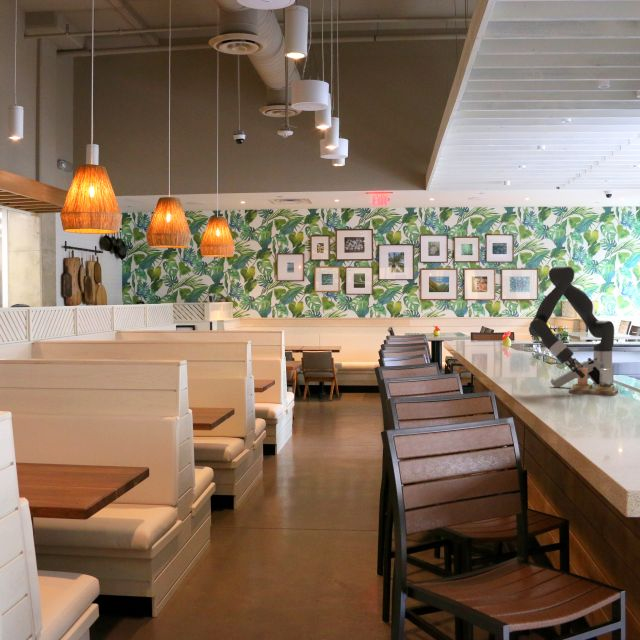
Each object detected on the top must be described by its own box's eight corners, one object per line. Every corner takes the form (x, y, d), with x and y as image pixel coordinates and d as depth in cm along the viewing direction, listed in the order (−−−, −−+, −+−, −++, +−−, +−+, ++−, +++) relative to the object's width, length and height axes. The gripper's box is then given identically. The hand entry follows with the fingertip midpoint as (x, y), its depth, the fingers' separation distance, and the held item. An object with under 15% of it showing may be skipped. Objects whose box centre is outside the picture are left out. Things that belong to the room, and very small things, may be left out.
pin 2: (604, 389, 350) (604, 368, 350) (611, 390, 346) (611, 369, 346) (597, 390, 349) (597, 368, 348) (604, 391, 344) (604, 369, 344)
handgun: (614, 379, 370) (599, 353, 370) (566, 406, 372) (551, 380, 372) (612, 378, 374) (597, 352, 374) (564, 405, 376) (549, 379, 376)
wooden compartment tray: (568, 393, 350) (568, 385, 349) (574, 390, 361) (574, 383, 361) (613, 395, 339) (613, 388, 339) (618, 392, 350) (618, 385, 350)
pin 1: (582, 388, 355) (582, 367, 355) (589, 389, 351) (589, 368, 351) (575, 388, 354) (575, 368, 353) (582, 389, 350) (582, 368, 349)
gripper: (563, 347, 350) (588, 372, 344) (569, 345, 362) (594, 369, 356) (552, 358, 353) (576, 383, 347) (558, 356, 365) (582, 380, 359)
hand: (585, 376), depth 352 cm, fingers open, 8 cm apart
